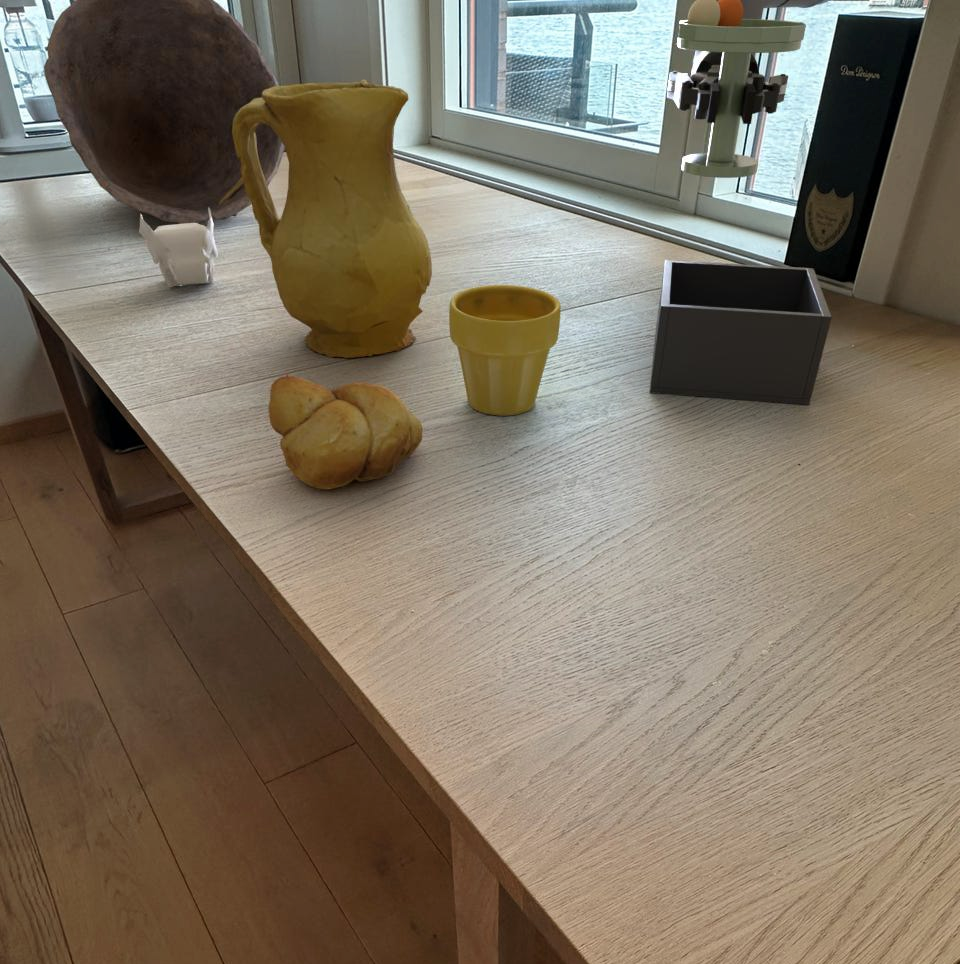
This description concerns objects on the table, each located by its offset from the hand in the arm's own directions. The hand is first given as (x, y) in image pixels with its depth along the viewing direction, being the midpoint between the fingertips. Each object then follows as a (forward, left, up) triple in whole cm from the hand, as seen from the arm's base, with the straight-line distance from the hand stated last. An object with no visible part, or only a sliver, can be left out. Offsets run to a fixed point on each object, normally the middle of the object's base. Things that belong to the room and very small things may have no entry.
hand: (731, 107), depth 85 cm
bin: (-3, +9, -23) cm, 25 cm away
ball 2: (+1, -9, +7) cm, 12 cm away
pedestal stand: (0, -5, -7) cm, 8 cm away
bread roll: (+29, +38, -23) cm, 53 cm away
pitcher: (+39, +7, -23) cm, 46 cm away
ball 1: (+4, -7, +7) cm, 11 cm away
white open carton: (+66, -7, -23) cm, 70 cm away
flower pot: (+19, +22, -23) cm, 37 cm away
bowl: (+83, -46, -23) cm, 97 cm away
